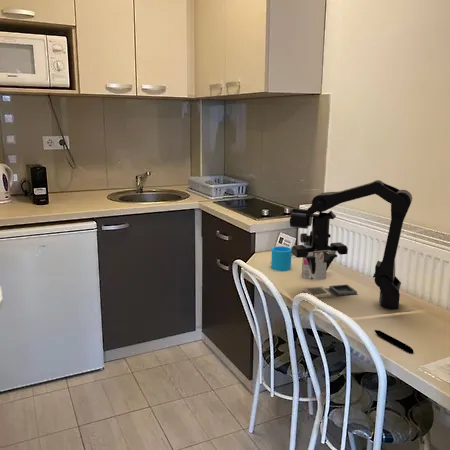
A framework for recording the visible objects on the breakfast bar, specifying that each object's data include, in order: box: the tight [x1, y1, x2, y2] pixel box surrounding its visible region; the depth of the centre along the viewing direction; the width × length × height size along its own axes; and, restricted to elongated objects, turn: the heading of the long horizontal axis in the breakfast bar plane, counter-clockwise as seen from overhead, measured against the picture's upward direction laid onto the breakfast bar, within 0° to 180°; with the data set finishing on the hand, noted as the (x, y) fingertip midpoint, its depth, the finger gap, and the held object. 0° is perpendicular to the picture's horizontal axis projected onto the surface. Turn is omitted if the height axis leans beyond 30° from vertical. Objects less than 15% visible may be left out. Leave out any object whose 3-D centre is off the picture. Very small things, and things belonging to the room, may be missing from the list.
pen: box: [374, 329, 414, 354], centre depth 132 cm, size 2×14×2 cm, turn 29°
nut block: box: [310, 259, 327, 281], centre depth 162 cm, size 4×4×6 cm
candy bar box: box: [301, 242, 324, 280], centre depth 182 cm, size 11×5×16 cm, turn 145°
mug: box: [270, 245, 292, 272], centre depth 195 cm, size 12×8×8 cm
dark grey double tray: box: [301, 283, 359, 299], centre depth 165 cm, size 8×18×2 cm, turn 103°
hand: (318, 273), depth 162 cm, fingers closed on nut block, 4 cm apart
